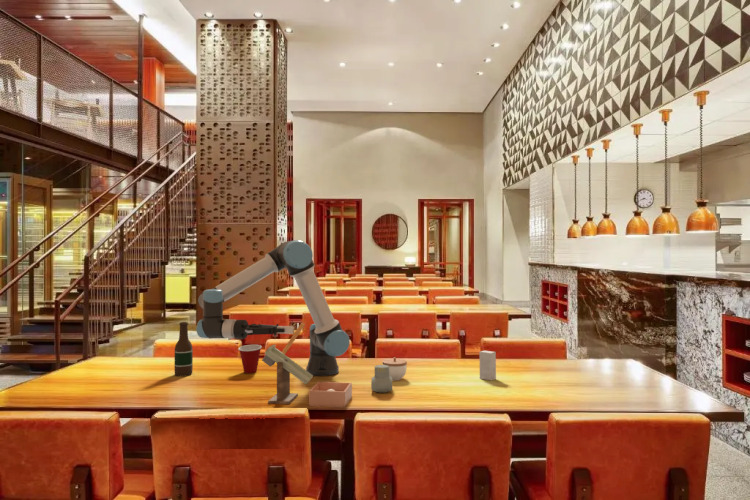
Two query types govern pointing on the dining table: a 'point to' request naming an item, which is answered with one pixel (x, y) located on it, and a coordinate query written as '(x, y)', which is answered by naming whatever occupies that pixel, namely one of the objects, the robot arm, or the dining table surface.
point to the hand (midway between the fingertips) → (293, 330)
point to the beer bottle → (183, 353)
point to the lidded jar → (396, 368)
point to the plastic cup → (250, 357)
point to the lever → (287, 359)
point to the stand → (283, 387)
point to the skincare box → (487, 365)
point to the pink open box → (330, 394)
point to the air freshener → (381, 379)
